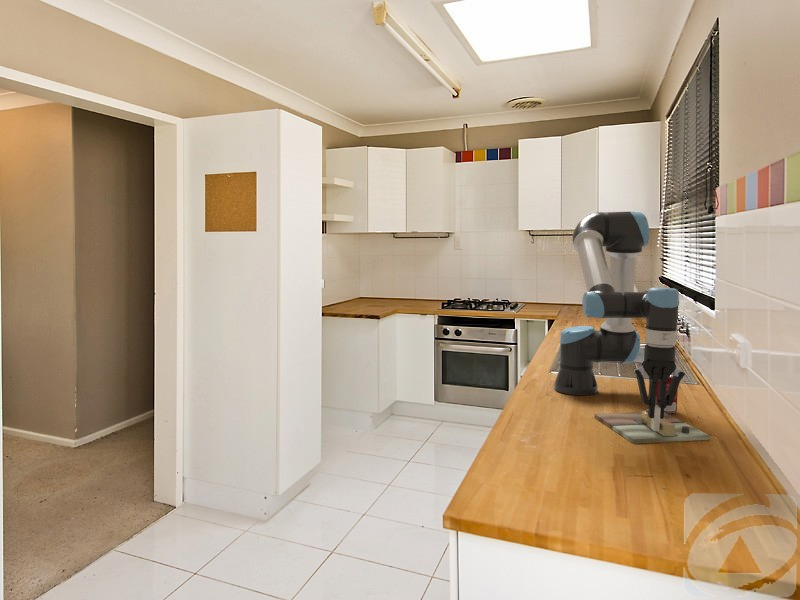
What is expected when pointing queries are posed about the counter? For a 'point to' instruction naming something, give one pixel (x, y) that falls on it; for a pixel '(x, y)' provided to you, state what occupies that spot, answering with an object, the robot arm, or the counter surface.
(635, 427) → the latch board
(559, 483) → the counter surface
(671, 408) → the soda can
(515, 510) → the counter surface
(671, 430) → the swing bar
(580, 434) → the counter surface
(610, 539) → the counter surface
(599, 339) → the robot arm
